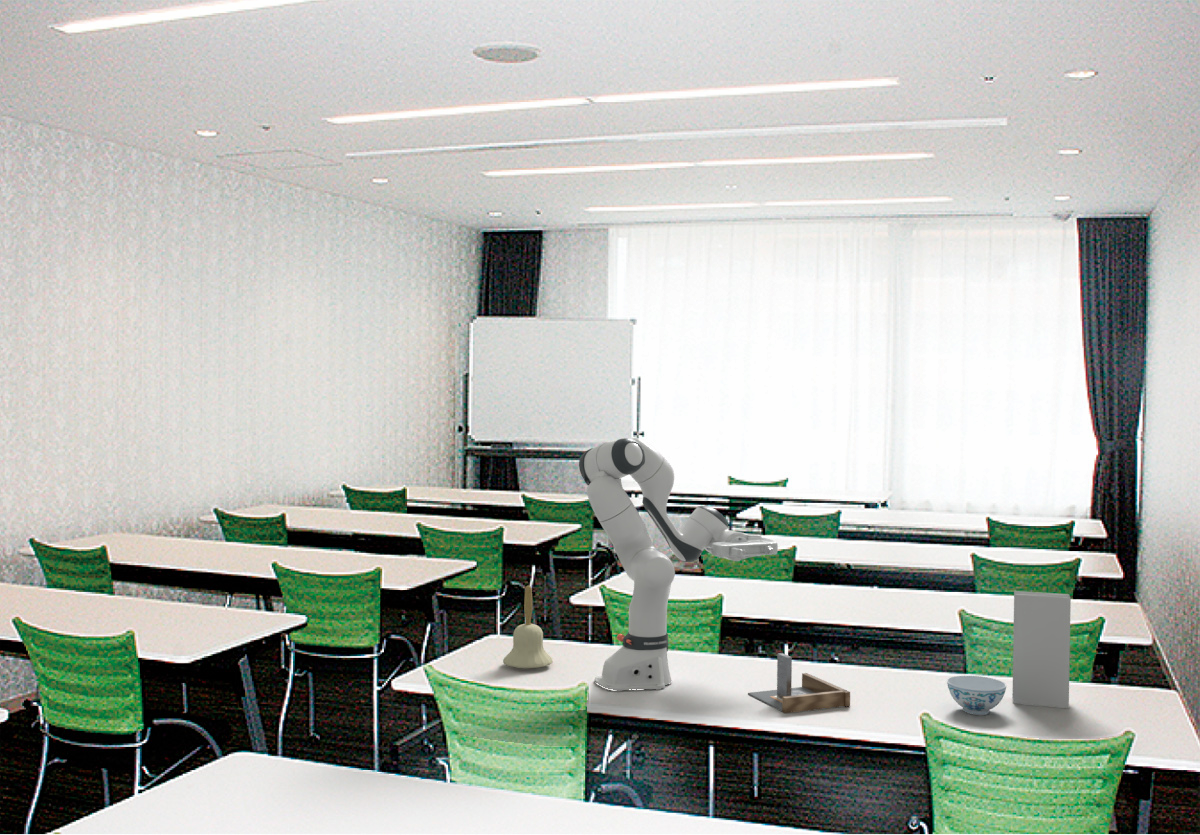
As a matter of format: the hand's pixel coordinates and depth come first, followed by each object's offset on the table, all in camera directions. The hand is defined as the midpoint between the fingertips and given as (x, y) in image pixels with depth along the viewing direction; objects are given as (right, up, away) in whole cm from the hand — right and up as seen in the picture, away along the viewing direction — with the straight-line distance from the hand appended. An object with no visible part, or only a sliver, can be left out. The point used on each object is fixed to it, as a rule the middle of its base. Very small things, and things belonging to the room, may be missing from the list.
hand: (757, 552), depth 325 cm
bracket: (+7, -38, -18) cm, 43 cm away
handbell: (-68, -37, +17) cm, 79 cm away
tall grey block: (+75, -39, -20) cm, 87 cm away
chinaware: (+54, -39, -28) cm, 73 cm away
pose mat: (+7, -38, -18) cm, 43 cm away
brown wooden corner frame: (+8, -38, -18) cm, 43 cm away
